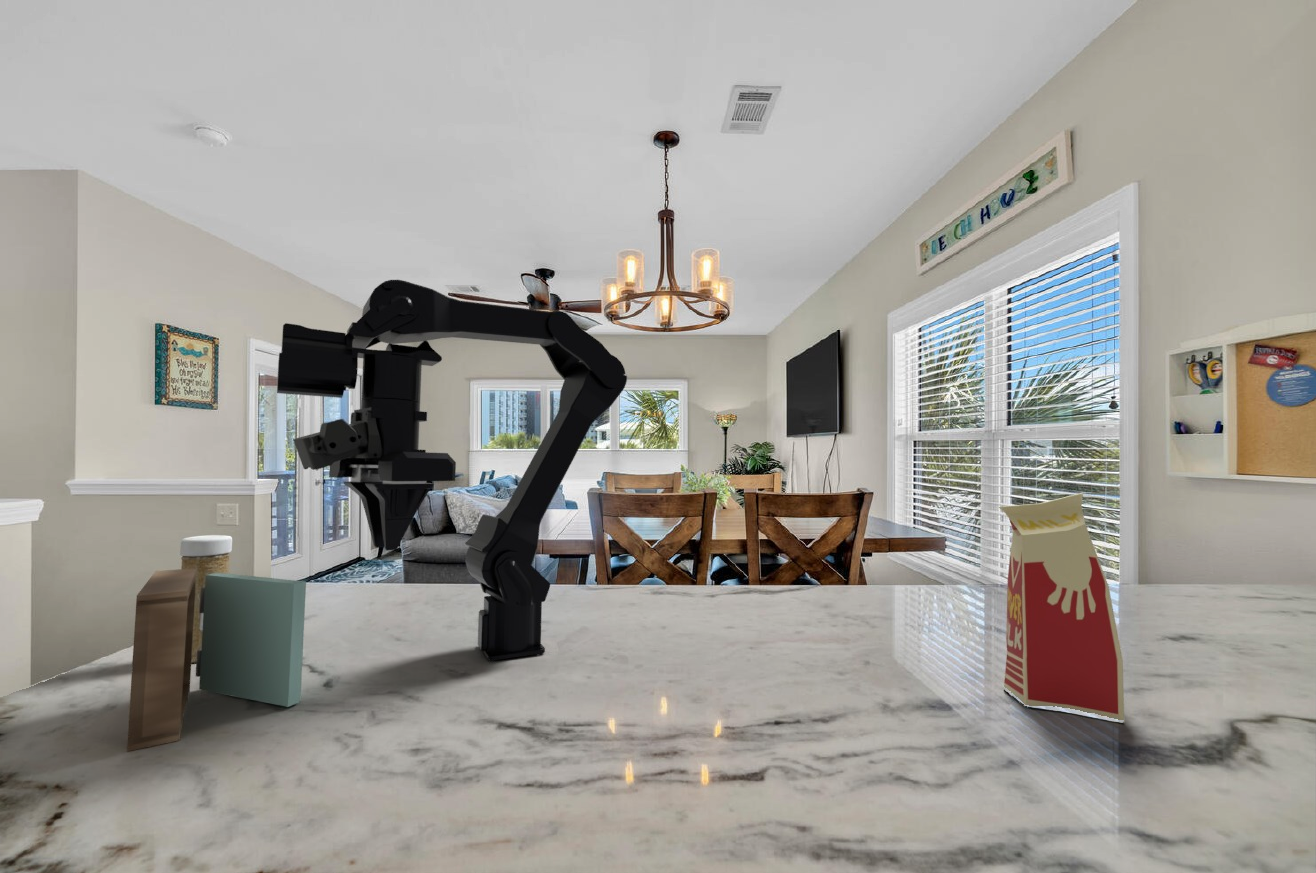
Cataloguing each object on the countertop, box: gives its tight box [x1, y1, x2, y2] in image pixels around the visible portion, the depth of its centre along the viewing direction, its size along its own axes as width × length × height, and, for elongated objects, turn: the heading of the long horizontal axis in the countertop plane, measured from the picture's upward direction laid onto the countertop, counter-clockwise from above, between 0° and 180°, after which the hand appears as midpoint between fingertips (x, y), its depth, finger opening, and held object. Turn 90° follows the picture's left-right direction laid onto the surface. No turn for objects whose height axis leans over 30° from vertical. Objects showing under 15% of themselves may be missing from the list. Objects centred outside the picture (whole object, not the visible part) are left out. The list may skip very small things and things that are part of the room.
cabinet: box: [126, 568, 197, 752], centre depth 48 cm, size 3×12×12 cm, turn 37°
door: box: [195, 573, 307, 708], centre depth 52 cm, size 1×12×11 cm, turn 72°
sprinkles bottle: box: [179, 534, 233, 664], centre depth 63 cm, size 5×5×13 cm
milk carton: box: [998, 492, 1125, 721], centre depth 55 cm, size 9×9×20 cm
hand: (385, 548), depth 59 cm, fingers open, 3 cm apart
